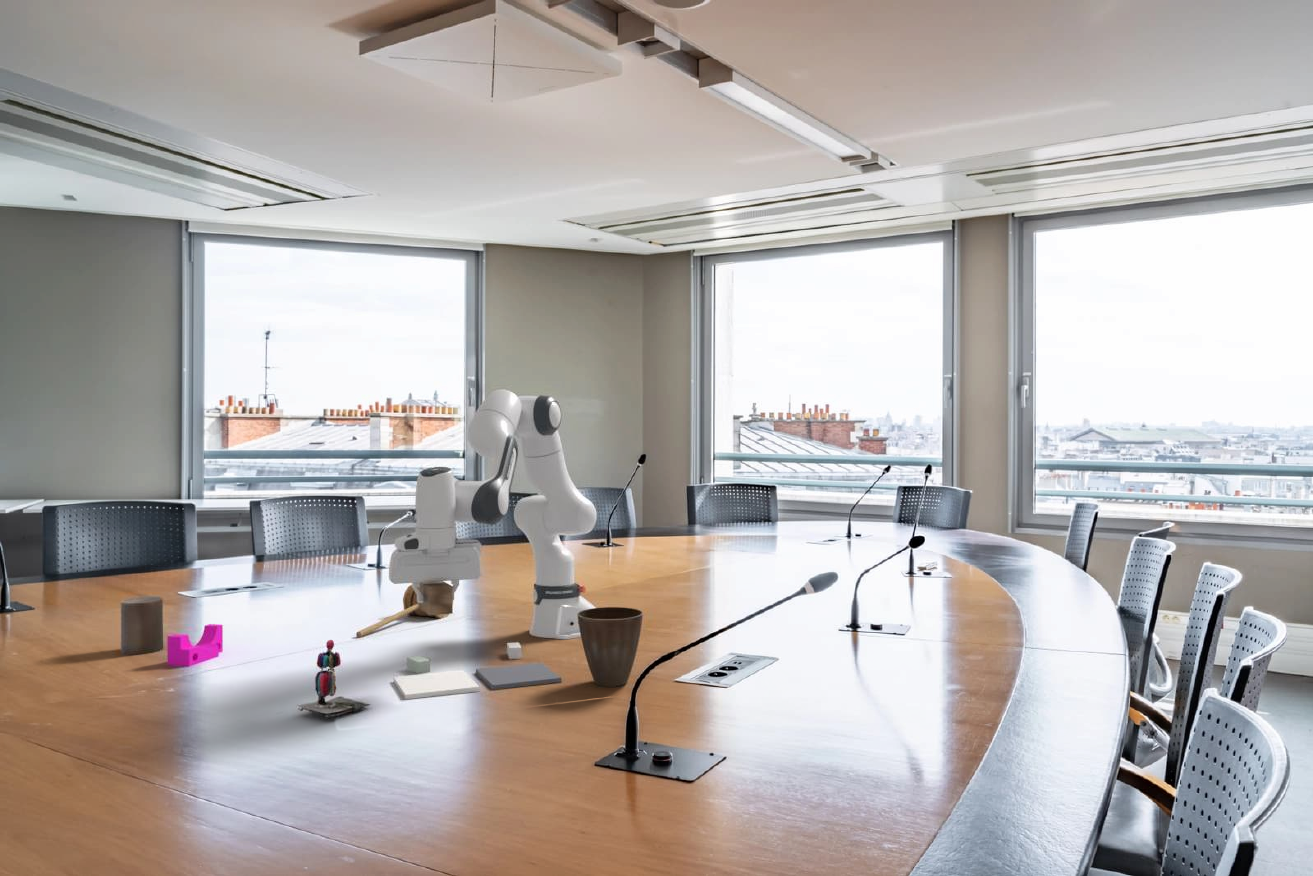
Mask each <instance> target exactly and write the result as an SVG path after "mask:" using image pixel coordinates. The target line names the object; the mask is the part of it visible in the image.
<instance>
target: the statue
mask: <svg viewBox="0 0 1313 876" xmlns="http://www.w3.org/2000/svg"><path fill="white" fill-rule="evenodd" d="M325 644H326V648H327V649H326V652H320V653H318V655H317V658H316V659H317V660H316V666H317V668H319V669H320V671H318V672H317V673H316V675H315V678H314V679H315V680H314V681H315V682H314V683H315V686H314V689H315V692H316V695H317V697H318V700H317V701H312V702H307V703H304V704H299V705H297V707H298V708H297V710H299V711H300V712H302V711H304V710H305V711H308V712H311V715H315V714H319V715H321V714H322V713H323V714H326V715H324V717H325V718H329V717H335V716H339V715H343V714H346V713H354V714H356V713H358V712H361V711H362V710H363V709H365V708H367V707H368V706H370V705H371V703H370V704H369V703H365V702H361V701H357V700H355V699H354V700H353V699H351V698H347V697H344V696H336V697H333V696H335V694H336V690H337V686H336V675H335V668H337V667H339V666H341V662H342V660H341V657H340V656H341V655H340V653H339V652H337V651H335V653H334V651H333V649H334V647H335V642H334V640H332V639H329V640H327V641H326V643H325ZM324 669H325V670H324ZM327 696H330V697H333V698H331V699H329V700H326V697H327Z"/></svg>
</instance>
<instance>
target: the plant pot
mask: <svg viewBox="0 0 1313 876" xmlns="http://www.w3.org/2000/svg"><path fill="white" fill-rule="evenodd" d="M577 615H578V622H579V629H580V634H581V637H580V639H581V644H582V646H583V651H584V654H585V658H586V663H587V664H588V668H589V671H590V673H591V676H592V679H593V682H594V684H595V685H597V686H600V687H607V688H608V687H609V688H610V687H613V688H614V687H620V686H625V685H626V684H627V683H628V680H629V678H630V675H631V673H632V668H633V667H634V663H635V660H636V655H637V651H638V646H639V642H640V637H641V632H642V631H641V630H642V625H643V616H644V612H643V611H642V610H641V609H637V608H633V607H624V606H623V607H622V606H619V607H618V606H611V607H610V606H607V607H606V606H604V607H596V608H592V609H587V610H583V611H580V612H579V613H578V614H577Z"/></svg>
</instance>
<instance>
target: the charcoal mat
mask: <svg viewBox="0 0 1313 876" xmlns="http://www.w3.org/2000/svg"><path fill="white" fill-rule="evenodd" d="M475 674H476V675H477V676H478V677H479V678H480V679H481V680H482V681H483V682H484V683H486V685H487V686H488V687H489V688H491V690H493V691H494V690H502V689H510V688H511V689H512V688H519V687H529V686H537V685H538V686H539V685H546V684H547V685H548V684H557V683H558V684H559V683H562V676H560V675H559V674H557V673H556V672H554V670H552V669H550V668H549V667H548V666H546V665H545V664H544V663H542V662H540V661H539V662H531V663H529V662H528V663H519V664H509V665H500V666H491V667H489V666H488V667H480V668H475Z"/></svg>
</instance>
